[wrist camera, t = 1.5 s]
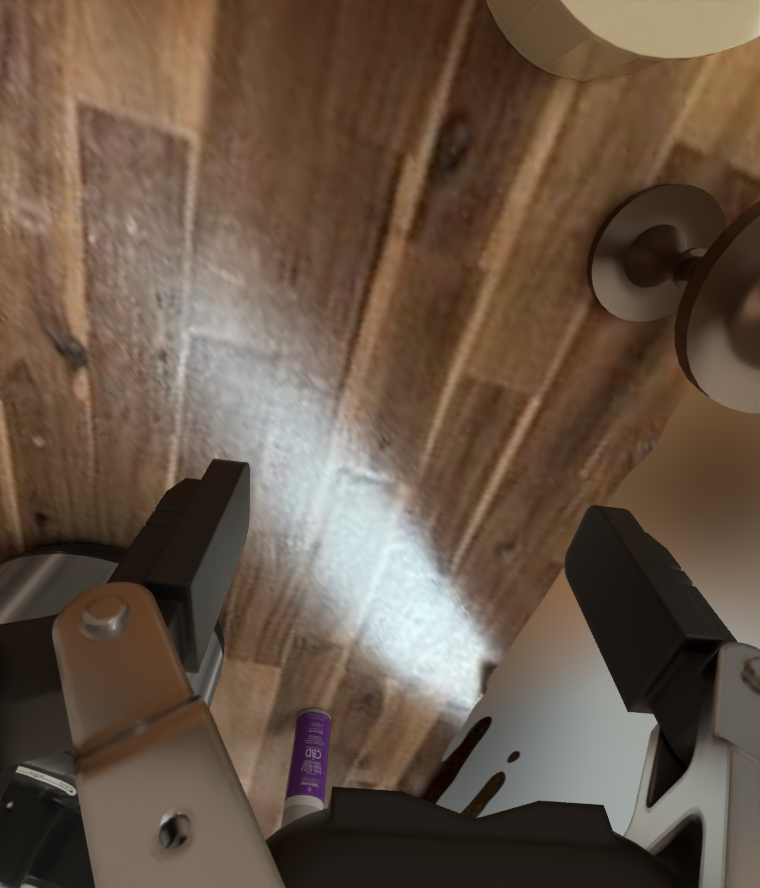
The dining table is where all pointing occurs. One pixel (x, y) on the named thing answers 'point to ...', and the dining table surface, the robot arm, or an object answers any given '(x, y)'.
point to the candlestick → (688, 283)
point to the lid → (666, 25)
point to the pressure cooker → (52, 777)
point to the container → (307, 765)
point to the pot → (559, 42)
